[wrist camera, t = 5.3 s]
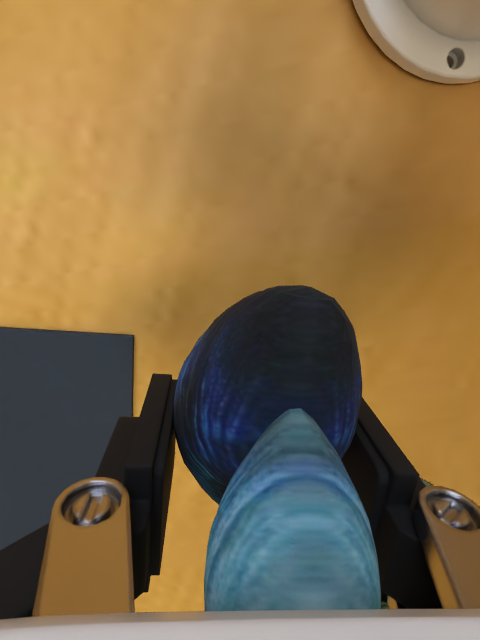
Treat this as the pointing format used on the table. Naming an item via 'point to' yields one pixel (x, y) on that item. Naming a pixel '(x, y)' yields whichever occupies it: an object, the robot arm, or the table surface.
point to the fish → (278, 454)
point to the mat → (56, 416)
